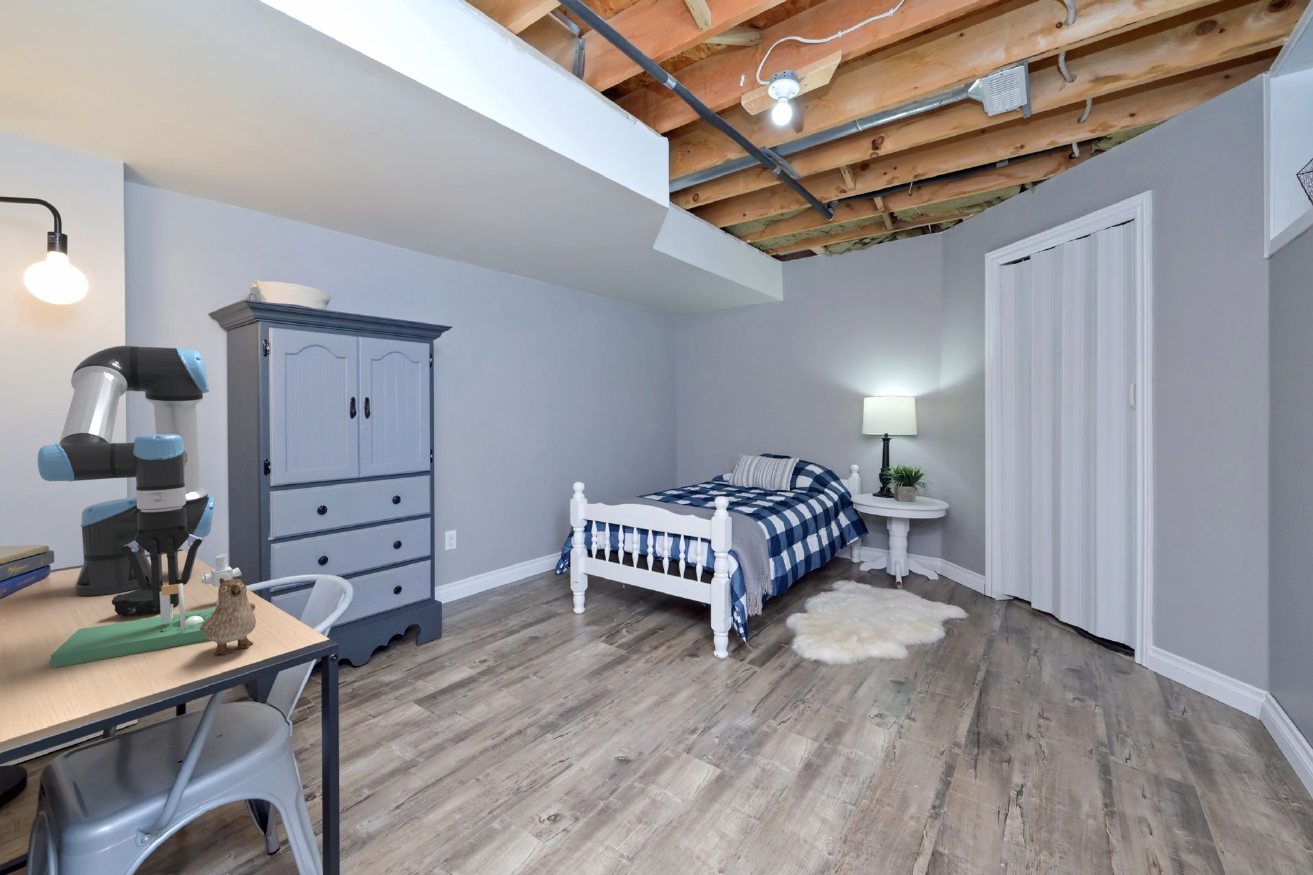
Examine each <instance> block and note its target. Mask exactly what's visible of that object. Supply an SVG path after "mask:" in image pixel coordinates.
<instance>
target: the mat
mask: <svg viewBox="0 0 1313 875" xmlns="http://www.w3.org/2000/svg"><path fill="white" fill-rule="evenodd" d="M177 593H179V604H178V607H179V611H178V612H179V613H176V614H173V616H174V617H173V618H172V620H171V621H168V622H161V616H155V617H149V618H144V619H137V620H130V621H124V622H123V621H122V622H117V623H109V624H104V625H98V626H97V625H96V626H90V627H83V628H79V629H77V631H75V632H74V633H73V634H72V635H71V636H70V637H69V638H68V639H67V640H65V641H64V642H63V643H62V644H61V645H60V646H59V647H58V648H56V650H54V651H53V652H52V654H50V668H51V669H54V668H59V667H65V666H71V665H77V664H83V663H89V662H95V661H100V660H105V659H111V658H116V657H123V656H128V655H135V654H139V653H145V652H151V651H152V652H153V651H156V650H163V649H169V648H174V647H178V646H185V645H186V646H187V645H190V644H196V643H201V642H207V641H210V640H209V639H207V638H206V635H205V630H199V628H200V627H201V626H202V624H203V623H204V622H205V621H206V620H207V619H209V618H210V617H211V615H212V614H213V613H214V611H215V609H216V607H215V608H207V609H202V610H196V611H190V612H189V611H188V612H185V602H184V601H185V600H184V585H183V583H181V584H175V585H169V584H168V585H163V586H162V595H169V594H177ZM192 616H200V617H202V618H203V619H204V621H203V622H201V623H198V624H195V625H191V626H185V620H186V619H188V618H189V617H192Z"/></svg>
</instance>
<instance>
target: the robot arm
mask: <svg viewBox="0 0 1313 875" xmlns="http://www.w3.org/2000/svg"><path fill="white" fill-rule="evenodd" d="M70 380H71V381H70V384H71V387H72V388H73V390H74V391H73V395H72V398H71V402H70V405H69V408H68V412H67V415H66V418H65V423H64V425H63V429H62V432H61V436H60V439H59V443H55V444H47V445H43V446H42V447H40V448H39V450H38V454H37V467H38V473H39V475H40V477H41V479H42V480H44V481H47V482H70V483H71V482H75V481H77V482H78V481H92V480H105V479H107V480H108V479H110V480H111V479H127V478H135V482H136V486H135V488H136V489H135V491H136V492H135V493H136V494H135V496H134V497H126V498H119V499H118V498H117V499H113V500H112V499H111V500H109V501H108V500H107V501H104V502H103V501H102V502H98V503H95V504H91V505H87V507H85V508H83V510H82V512H81V524H80V527H81V536H82V550H83V551H82V553H83V564H82V566H81V569H80V571H79V574H78V577H77V580H76V582H75V590H74V591H75V594H76V595H78V596H84V597H85V596H86V597H87V596H89V597H90V596H91V597H92V596H102V595H110V594H111V595H112V594H118V593H123V592H128V591H132V590H133V591H134V590H137V589H139V588H140V589H141V590H151V591H152V592H153V604H154V606H160V610H161V613H160V617H161V622H168V621H171V620H172V618H173V617H174V616H173V615H174V607H173V604H176V603H177V602H178V600H179V593H177V594H169V595H162V586H165V585H164V584H163V582H164V581H163V561H162V560H163V559H162V556H163V554H164V553H165V554H166V559H167V575H168V576H167V579H168V585H175V584H181V583H183V586H185V585H187V584H188V583H189V581H190V580H191V577H192V571H193V568H194V564H195V561H196V557H197V554H198V550H199V547H200V546H201V545H202V543H203V542H204V540H205V539H204V538H206V537H208V536H209V535H210V533H211V530H212V526H213V525H212V524H213V515H214V507H215V498H214V497H213V496H208V490H206V489H205V488H203V487H201V476H200V475H201V472H200V458H199V457H200V454H199V437H198V436H199V435H198V420H197V419H198V418H197V417H198V414H197V405H198V404H199V403H200V402H201V401H203V399H204V396H203V394H206V393H209V392H210V387H209V382H208V375H207V371H206V366H205V362H204V359H203V356H202V354H201V353H200V352H199V351H197V350H195V349H189V348H187V349H186V348H180V347H157V346H135V345H134V346H132V345H120V346H119V345H118V346H113V347H108V348H104V349H102V350H99V351H97V352H95V353H93V354H91V355H89V356H87V357H86V358H85V359H84V360H82V361H81V362H80V363H79V364H78V365H77V366H76V367H75V369H74V371H73V373H72V375H71V379H70ZM126 392H144V393H145V394H144V395H145V397H144V398H145V400H146V401H148V402H149V403H151V404H152V405H153V412H154V413H153V414H154V415H153V416H154V424H155V425H154V428H155V429H154V430H155V434H142V435H137V436H135V438H134V441H133V442H112V441H113V440H112V439H113V434H114V430H115V424H116V418H117V414H118V413H117V412H118V407H119V403H120V402H119V401H120V398H121V396H124V394H125V393H126ZM186 541H187V542H188V543H187V546H188V547H189V548H188V551H187V555H186V558H185V563H184V567H183V569H182V570H183V571H182V574H181V578H180V574H179V557H178V554H179V550H180V548H181V547H182V546H183V545H184V543H186ZM146 552H147V553H148V554H149V559H150V560H149V559H148V557H147V554H146Z"/></svg>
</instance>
